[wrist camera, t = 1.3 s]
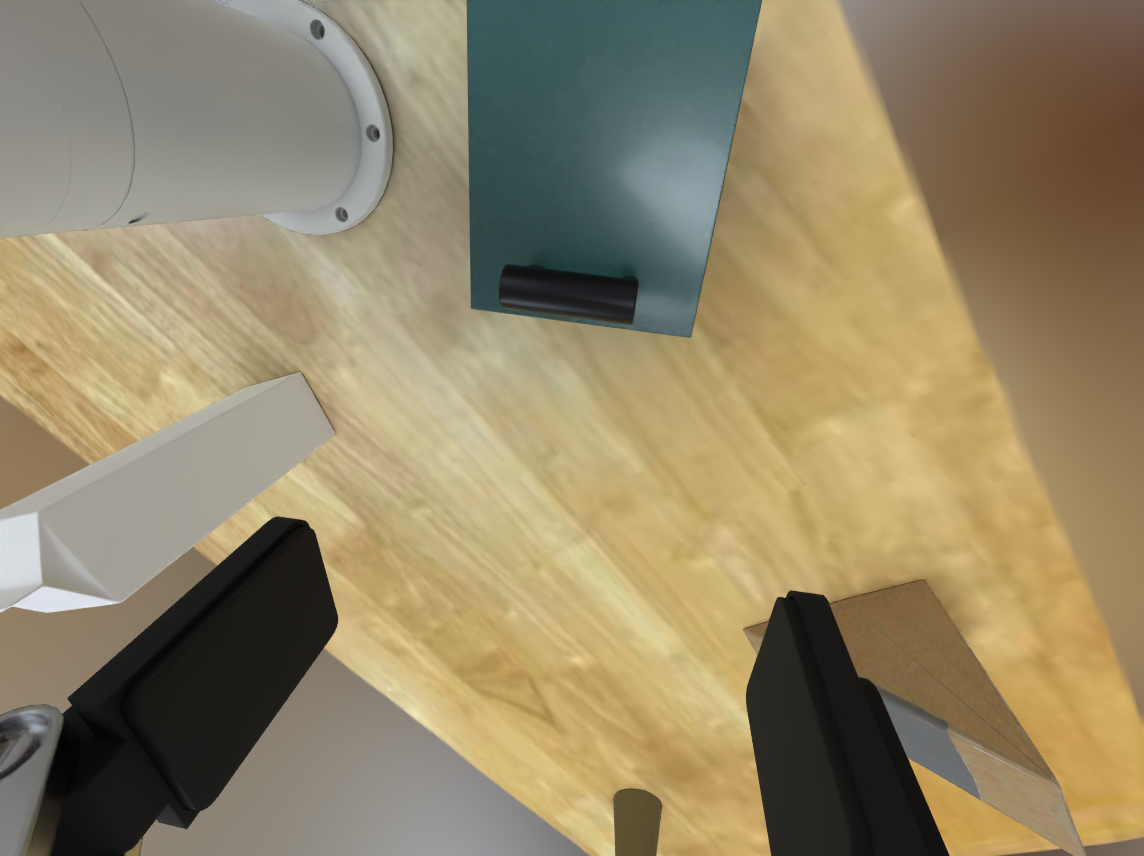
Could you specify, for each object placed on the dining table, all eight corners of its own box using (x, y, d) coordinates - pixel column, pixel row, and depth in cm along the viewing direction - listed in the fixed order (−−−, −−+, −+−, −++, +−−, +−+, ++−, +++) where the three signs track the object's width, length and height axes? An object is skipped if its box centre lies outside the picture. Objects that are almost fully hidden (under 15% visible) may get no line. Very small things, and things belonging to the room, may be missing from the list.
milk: (337, 433, 41) (57, 659, 22) (282, 446, 43) (-23, 667, 24) (300, 369, 39) (-52, 559, 20) (244, 385, 40) (-132, 575, 21)
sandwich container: (739, 627, 44) (773, 818, 31) (924, 576, 38) (1061, 785, 25) (777, 685, 46) (823, 884, 33) (955, 646, 41) (1095, 867, 28)
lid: (690, 333, 24) (697, 371, 19) (475, 305, 25) (433, 334, 21) (771, -55, 17) (812, -142, 13) (472, -69, 18) (407, -153, 14)
